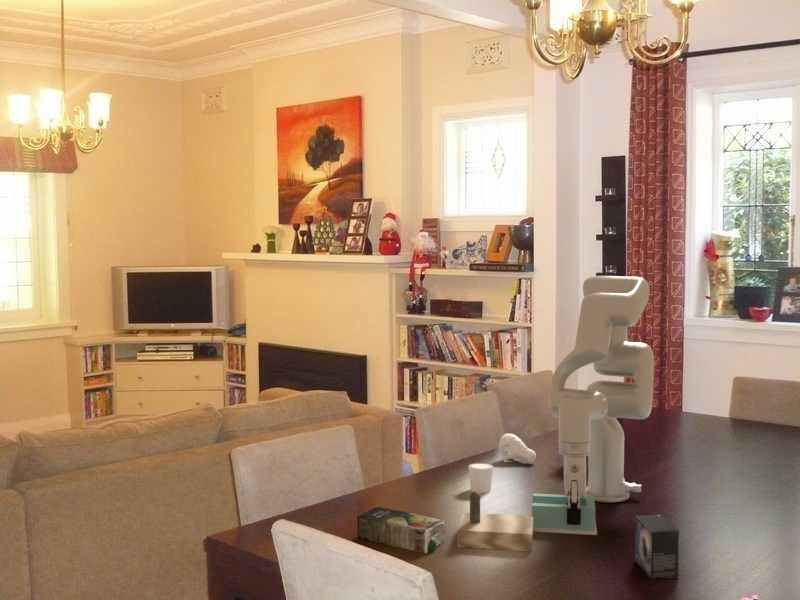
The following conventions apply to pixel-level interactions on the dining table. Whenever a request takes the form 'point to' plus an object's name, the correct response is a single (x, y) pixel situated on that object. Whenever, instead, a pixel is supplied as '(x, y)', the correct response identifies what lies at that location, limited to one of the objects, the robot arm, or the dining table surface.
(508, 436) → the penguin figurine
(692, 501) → the dining table surface
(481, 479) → the shot glass
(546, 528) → the mat
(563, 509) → the c link
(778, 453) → the dining table surface
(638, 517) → the small box
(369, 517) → the juice carton
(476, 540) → the stand
